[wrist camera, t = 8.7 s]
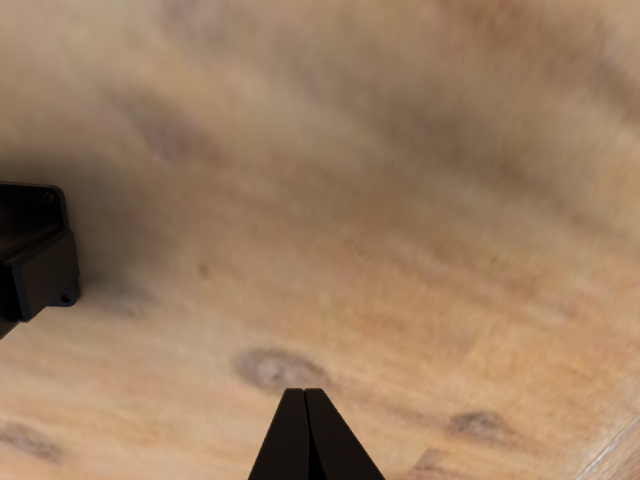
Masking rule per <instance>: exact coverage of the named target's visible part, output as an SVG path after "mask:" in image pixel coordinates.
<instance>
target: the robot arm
mask: <svg viewBox="0 0 640 480" xmlns="http://www.w3.org/2000/svg"><path fill="white" fill-rule="evenodd" d="M47 192H48V193H51V194H52V195H53V197H54V201H53V200H51V199H49V198H48V196H47ZM79 275H80V273H79V266H78V260H77V253H76V247H75V240H74V234H73V232H72V230H71V229H70V228H69V222H68V216H67V209H66V203H65V197H64V194H63V192H62V191H61V189H59V188H58V187H56V186H52V185H42V184H29V183H16V182H3V181H0V340H1V339H2V338H3V337H4V336H5V335H6V334H8V333H9V332H10V331H11V330H12V329H13V328H14V327H16V326H17V325H18V324H19V323H27V322H29V321H30V320H31V319H33V318H34V317H35V316H36V315H37V314H38V313H39V312H40V311H41V310H42V309H44V308H45V307H46V306H56V307H70V306H73V305H74V304H75V303H76V302H77V301H78V300H79V298H80V292H79V286H78V280H77V277H78V276H79ZM65 295H68V296H70V298H71V299H69V298H67V297H65ZM248 480H386V479H385V478H384V476H383V475H382V474H381V472H380V471H379V469H378V468H377V466H376V465H375V464H374V462H373V461H372V459H371V458H370V456H369V455H368V454H367V452H366V451H365V449H364V448H363V446H362V445H361V444H360V442H359V441H358V439H357V438H356V436H355V435H354V434H353V432H352V431H351V429H350V428H349V426H348V425H347V423H346V422H345V421H344V419H343V418H342V416H341V415H340V413H339V412H338V411H337V409H336V408H335V406H334V405H333V403H332V402H331V401H330V399H329V398H328V396H327V395H326V393H325V392H324V391H323V390H322V389H321V388H306V389H305V390H304V391H303V389H302V388H287V389H286V390H285V391H284V393H283V396H282V398H281V400H280V403H279V405H278V408H277V410H276V412H275V415H274V417H273V420H272V422H271V425H270V427H269V429H268V432H267V434H266V437H265V439H264V441H263V444H262V446H261V449H260V451H259V453H258V456H257V458H256V461H255V463H254V466H253V468H252V470H251V473H250V475H249V478H248Z"/></svg>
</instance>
